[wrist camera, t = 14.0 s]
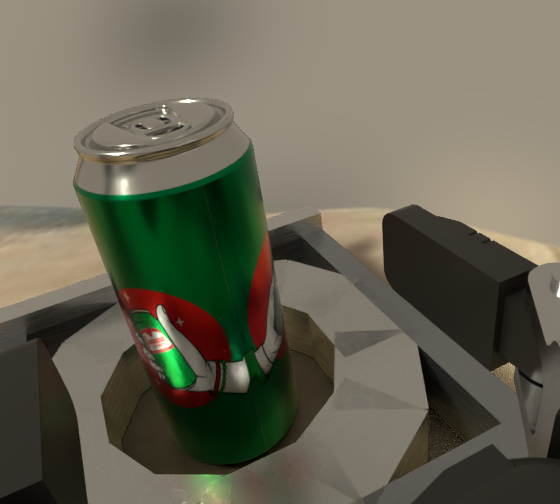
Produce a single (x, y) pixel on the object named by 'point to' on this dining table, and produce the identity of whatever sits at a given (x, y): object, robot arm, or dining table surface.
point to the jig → (305, 339)
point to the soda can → (192, 271)
